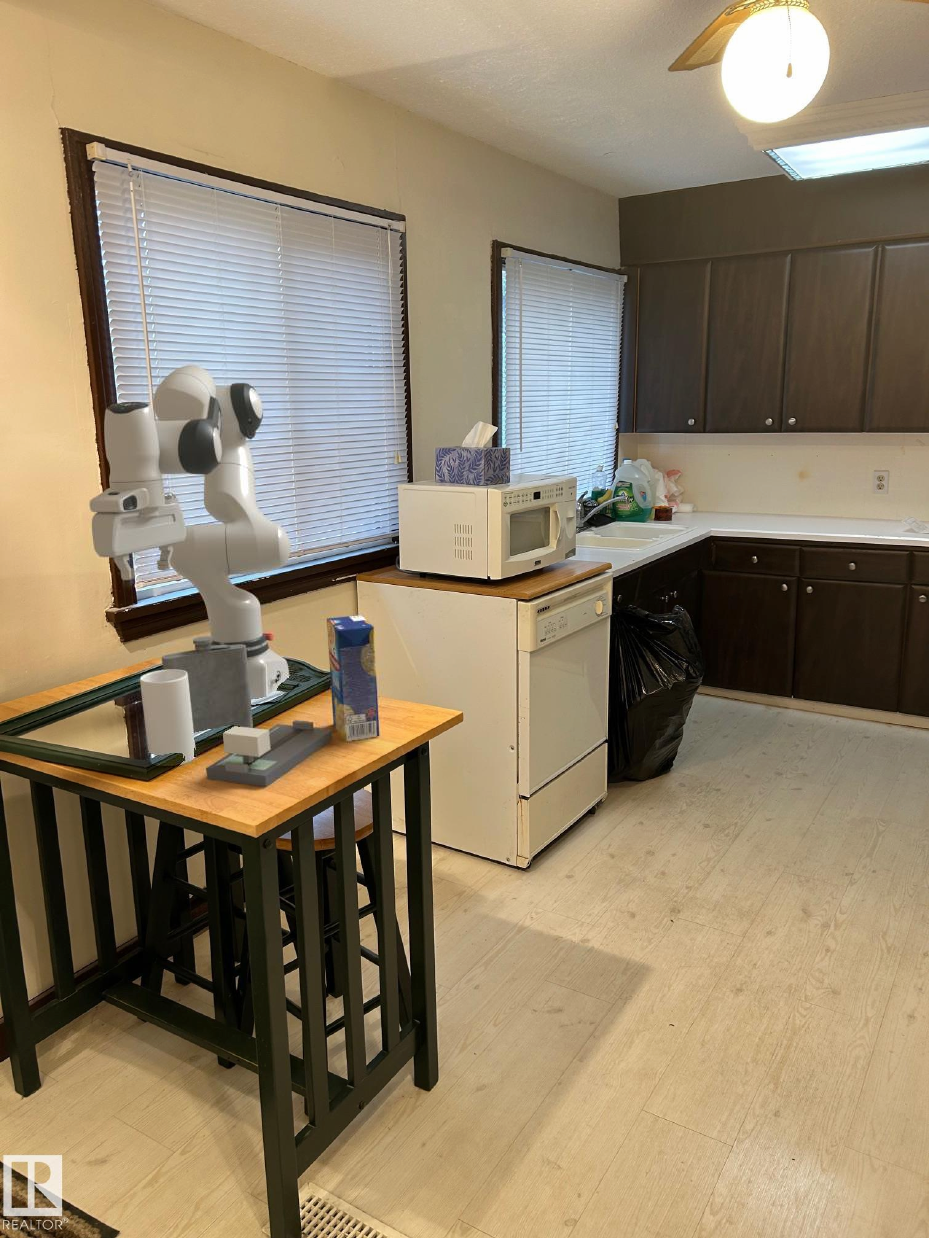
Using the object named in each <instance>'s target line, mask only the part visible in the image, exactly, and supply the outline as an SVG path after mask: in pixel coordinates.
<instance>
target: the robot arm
mask: <svg viewBox="0 0 929 1238" xmlns="http://www.w3.org/2000/svg"><path fill="white" fill-rule="evenodd" d="M216 386H217V385H216V383H215V380H214V378H213V376H212V375H211V373H210V372H209V371H208V370H206V369H205V368H203V367H201V366H198V365H192V364H188V365H183V366H181V367H179V368H177V369H175V370H173V371H171V372H170V373H168V375H167V376H165V378H164V379H163V380H162V381H161V382H160V383H159V385H158V386H157V387H156V389H155V392H154V394H153V400H152V405H153V409H152V407H151V405H150V404H148V403H146V402H142V401H125V402H117V403H114V404H111V405H109V406H108V407H107V408H106V409H105V413H104V423H103V424H104V425H103V426H104V447H105V449H104V450H105V455H106V459H107V461H108V463H109V468H110V474H109V476H108V477H109V488H106V489H105V490H104V491H103V492H101V493H99V494H98V495H96V496H95V497H93V498H91V500H90V501H89V510H90V511H91V512H92V513H94V515H93V516H92V519H91V534H92V542H93V548H94V551H95V553H96V554H97V556H99V557H100V558H113V561H114V563H115V565H116V566H117V568H118V569H119V571H120V577H121V580H123V581H129V580H130V581H131V580H134V579H135V578H136V575H135V573H136V571H135V568H131V566H130V564H129V562H128V561H130V554H135V553H138V552H139V553H140V552H142V551H148V550H151V549H156V548H158V550H159V551H160V556H159V559H158V560H156V565H157V566H156V567H157V570H158V571H167V570H171V568H172V570H173V571H175V572H176V573H177V574H179V576H181V577H183V578H185V579H186V580H188V581H189V582H190V583H191V585H193V586H194V587H195V588H196V590H197V591H198V593H199V594H200V595H201V597H202V600H203V601H204V604H205V607H206V612H207V617H208V618H207V619H208V625H209V633H210V637H212V641H213V642H212V643H211V644H212V646H215V645H237V644H243V645H246V653H247V664H248V676H249V687H250V698H251V700H252V699H259V698H263V697H268V695H269V694H270V693H272V692H273V691H276V690H277V688H278V686H279V685H280V684H281V683H282V682H284V681H285V680H286V679H287V678H289V676H290V671H289V665H288V662H287V659H285V658H284V657H282V656H281V655H279V654H277V653H276V652H275V651H273V650H272V649H271V648H270V646H269V643H268V641H269V642H273V641H274V639H275V633H274V632H272V631H265V632H263V624H262V623H263V622H262V611H261V603H260V601H259V599H258V597H256V596H255V595H254V594H253V593H251V592H249V591H247V590H245V589H242V588H240V587H237V586H235V584H233V583H232V582H231V580H230V578H229V577H230V576H231V575H249V574H263V573H268V572H271V571H272V572H273V571H275V570H279V569H282V568H283V567H284V566H285V565H286V563H287V562H288V560H289V558H290V556H291V545H292V544H291V540H290V537H289V535H288V533H287V531H286V530H285V529H284V528H283V527H282V526H281V525H280V524H278V523H276V522H274V521H272V520H270V519H269V518H267V516H265V515H264V513H263V512H262V511H261V510H260V508H259V506H258V503H257V497H256V473H255V466H254V459H253V454H252V451H251V448H250V446H249V445H248V442H247V439H248V440H252V439H254V438H255V436H256V433H257V430H258V429H259V428H260V426H261V423H262V421H263V418H264V411H263V409H264V408H263V403H262V400H261V398H260V395H259V394H258V392H257V390H256V389H255V387H253V386H252V385H251V384H250V383H246V382H236V383H235V382H234V383H231V385H223V386H217V387H216ZM153 411H154V414H155V416H156V417H157V419H158V420H155V417H154V414H153ZM183 474H185V475H186V474H190V475H203V476H204V479H203V505H204V508H205V510H206V511H207V513H208V514H209V515H210V516H211V517H212V518H213V519H215V521H218V522H219V523H215V524H214V523H213V524H195V525H190V526H186V524H185V523H186V522H185V518H184V514H183V511H182V508H181V505H180V503H179V499H178V497H177V496H176V495H174V494H173V493H172V492H166V493H165V490H164V488H165V487H164V479H163V475H183Z"/></svg>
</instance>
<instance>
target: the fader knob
mask: <svg viewBox="0 0 929 1238" xmlns="http://www.w3.org/2000/svg"><path fill="white" fill-rule="evenodd" d="M222 738H223V739H222V740H223V751H224V753H226V754H230V753H232V754H240V755H243V762H245V763H250V762H251V761H253V760H254V758H253V756H256V757H260V756H261V755H263V754H264V753H266V752H267V751H269V750H270V738H269V729H263V728H254V727H253V728H247V727H238V726H234V727H232V728H231V729H229V730H227V731H225V732H224V733H223V737H222Z"/></svg>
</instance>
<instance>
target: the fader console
mask: <svg viewBox="0 0 929 1238" xmlns="http://www.w3.org/2000/svg"><path fill="white" fill-rule="evenodd" d="M268 730H269V738H270V750H269V751H267V752H266V753H264V754H263V755H261V756H260V757H256V756H253V758H254V760H253V761H251V762H250V763H245V762H243V755H240V754H232V753H227V755H225V756H224V757H222V758H220V759H219V760H217V761H215V762H214V763H212V764H210V765H208V766H207V767H206V768H205V769H206V770H205V771H206V779H208V780H212V781H213V780H214V781H221V782H228V783H236V784H242V785H249V786H255V787H256V786H257V787H261V788H262V787H263V788H266V787H269V785H272V784H273V783H274V782H276V781H277V780H278V779H280V778H281V777H282V776H285V774H287V773H288V772H289V771H291V770H292V769H294V768H295V767H296V766H298V765H299V764H301V763H302V762H303V761H305V760H306V759H308V758H310V756H312V755H313V754H315V753H316V752H317V751H319V750H320V749H322V748H323V747H324V746H326V745H327V744H328V743H330V742H332V741H333V731H332V730H333V729H326V728H317V727H314V722H313V721H308V720H307V721H306V720H299V719H298V720H297V719H294V720H293V721H292V725H291V724H282V723H278V724H275V725H274V726H273V727H270V728H269V729H268Z"/></svg>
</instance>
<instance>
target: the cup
mask: <svg viewBox="0 0 929 1238" xmlns="http://www.w3.org/2000/svg"><path fill="white" fill-rule="evenodd" d="M139 678H140V679H139V683H140V690H141V691H140V693H141V700H142V707H143V716H144V726H145V734H146V742H147V751H149V752H148V754H149V753H151V754H154V755H164V754H169V753H182V754H183V758H184V756H185V761H183V762H182V763H181V764H180V765H179V766H182V765H185V764H188V763H190V762H193V760H195V759H196V757H194V748H195V749H196V742H195V740H194V730H193V721H192V711H191V702H190V692H189V682H188V674H187V672H186V671H184V670H177V669H169V670H163V669H161V670H154V671H151V672H148V673H146V674H145V673H144V674H143V675H141V676H140V677H139Z"/></svg>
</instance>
